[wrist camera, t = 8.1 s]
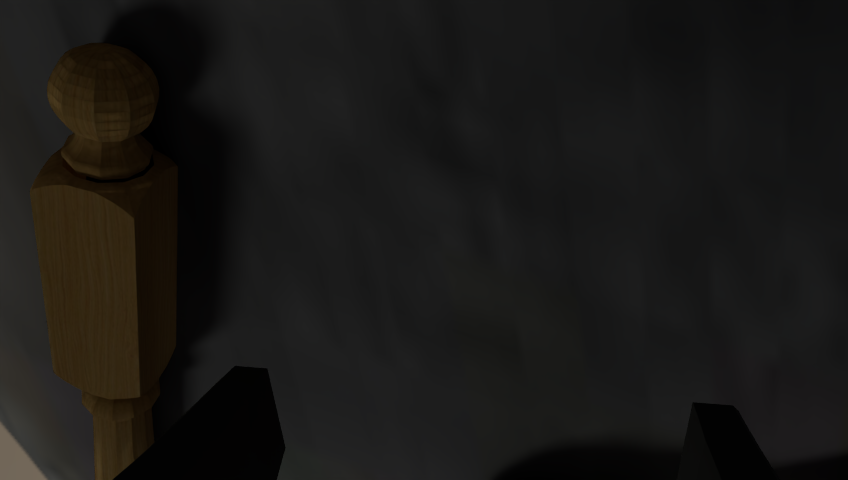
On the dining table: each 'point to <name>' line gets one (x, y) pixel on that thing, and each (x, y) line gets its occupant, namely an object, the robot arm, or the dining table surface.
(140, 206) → the wooden baluster
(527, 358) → the dining table surface
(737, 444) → the robot arm
